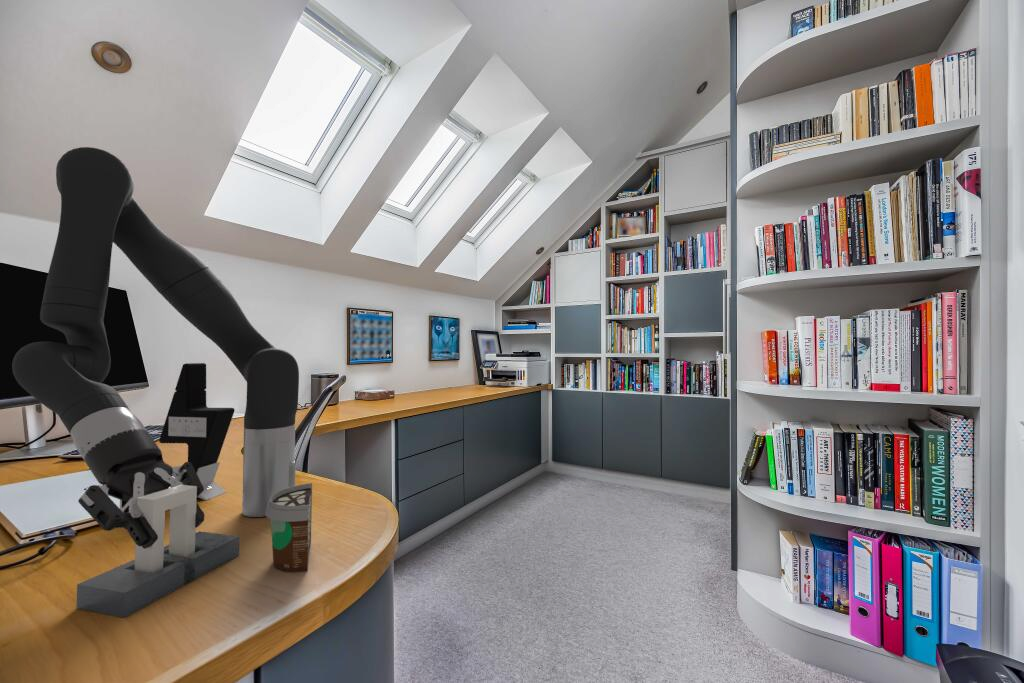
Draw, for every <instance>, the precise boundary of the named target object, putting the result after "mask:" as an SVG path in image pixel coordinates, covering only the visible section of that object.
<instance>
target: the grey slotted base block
mask: <svg viewBox="0 0 1024 683" xmlns="http://www.w3.org/2000/svg"><path fill="white" fill-rule="evenodd" d="M238 556H240V536H239V535H232V534H231V535H230V534H225V533H223V534H222V533H216V532H207V531H198V532H197V531H196V532H195V553H194V554H192V555H190V556H188V557H183V556H176V555H169V544H167V545H164V556H163V569H161V570H159V571H157V572H155V573H148V572H142V571H135V570H134V569H135V559H132V560H130V561H128V562H126V563H124V564H123V563H122V564H120V565H119V566H116V567H114V568H112V569H110V570H107V571H105V572H103V573H100V574H97V575H96V576H93V577H90V578H88V579H86V580H84V581H81V582H80V583H77V584H76V609H77V610H82V611H88V612H93V613H98V614H103V615H108V616H112V617H118V618H127V617H128V616H131V615H132V614H134V613H136V612H138V611H140V610H141V609H143V608H145V607H146V606H147V607H148V605H150V604H152V603H154V602H155V601H158V600H160V599H161V598H163V597H165V596H166V595H169V594H171V593H172V592H175V591H176V590H178V589H181V588H182V587H183V586H185V585H187V584H189V583H190V582H191V583H192V582H193V581H195V580H196V579H199V578H200V577H201V576H204V575H205V574H207V573H209V572H211V571H213V570H215V569H217V568H219V567H221V566H222V565H224V564H226V563H227V562H230V561H231V560H233V559H235V558H236V557H238Z"/></svg>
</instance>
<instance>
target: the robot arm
mask: <svg viewBox="0 0 1024 683" xmlns="http://www.w3.org/2000/svg"><path fill="white" fill-rule="evenodd" d="M55 179H56V186H57V189H58V192H59V194H60V199H61V201H60V202H61V204H60V216H59V217H60V218H59V225H58V233H57V237H56V241H55V245H54V250H53V252H52V258H51V261H50V266H49V269H48V272H47V273H48V274H47V276H46V281H45V286H44V291H43V296H42V297H43V298H42V302H41V306H40V312H39V313H40V314H39V319H40V321H41V323H42V324H44V325H46V326H47V327H50V328H52V329H54V330H58V331H59V332H61V333H63V335H64V336H65V339H66V342H67V343H61V342H55V341H37V342H30V343H28V344H26V345H24V346H22V347H21V348H20V349H19V350H18V351H17V352H16V353H15V355H14V357H13V359H12V363H11V364H12V365H11V367H12V368H11V370H12V374H13V376H14V378H15V380H16V382H17V383H18V385H20V387H21V388H22V389H24V390H25V391H26V393H28V394H30V396H32V398H34V399H36V400H37V401H38V402H39V403H41V405H43V406H45V407H46V408H47V409H49V410H50V411H52V412H53V413H55V414H56V415H57V416H58V417H59V419H60V421H61V422H62V424H63V425H64V427H65V429H67V431H68V433H69V435H70V436H71V438H72V441H73V444H74V446H75V448H76V450H77V451H78V453H79V455H80V456H81V457H82V459H83V461H84V463H85V464H86V466H87V467H88V468H89V470H90V471H91V474H92V475H93V476H94V478H95V479H96V481H97V482H98V483H99V484H100V485H96V484H92V485H90V486H89V487H88V488H87V489H86V490H85V492H84V493H83V494H82V495H81V496H80V497H79V499H77V500H78V501H77V502H78V503H79V504H80V506H81V507H82V508H83V510H85V511H86V512H87V513H88V514H89V515H90V517H91V518H93V520H94V521H95V522H96V523H97V524H98V525H99V526H100V527H101V528H102V529H103V530H104V531H107V532H110V531H112V530H114V529H115V528H116V529H117V528H118V529H120V528H121V529H123V530H126V531H127V532H128V535H129V536H130V537H131V538H132V541H133V542H134V543H136V545H138V546H142V547H143V548H144V549H146V548H148V547H150V546H152V545H153V544H154V543H155V542H156V540H157V539H158V535H157V534H156V532H155V531H154V529H152V527H151V526H150V524H149V523H148V521H147V520H146V518H145V517H140V516H141V515H142V511H141V510H140V508H139V506H138V505H137V498H139V497H142V496H146V495H149V494H152V493H155V492H159V491H162V490H165V489H169V488H172V487H175V486H179V485H189V486H197V498H199V497H198V496H199V495H200V494H201V493H202V492H203V491H204V487H203V485H202V483H201V481H200V479H199V477H198V475H197V473H196V471H195V469H194V467H193V465H192V464H191V463H190V462H188V461H185V462H184V463H183V464H182V465H180V466H173V467H172V466H171V465H169V464H168V463H166V462H165V461H164V459H163V453H162V450H161V448H160V447H159V446H158V444H157V443H156V441H155V440H154V438H153V437H152V435H151V434H150V433H149V431H148V430H147V428H146V427H145V426H144V424H143V423H142V421H141V420H140V419H139V418H138V417H137V416H136V415H135V414H134V413H133V411H131V409H130V408H129V406H128V405H127V403H126V402H125V401H124V399H123V398H122V397H121V395H120V393H119V392H118V391H117V390H116V389H115V388H113V387H112V386H110V385H108V384H105V383H104V381H105V379H106V378H107V376H108V374H109V372H110V370H111V362H112V359H111V351H110V347H109V344H108V342H109V341H108V338H107V337H108V336H107V332H106V327H105V324H104V319H105V311H106V307H107V306H106V305H107V300H108V292H109V285H110V276H111V262H112V261H111V260H112V252H113V251H112V250H113V243H114V244H115V246H116V247H118V248H119V249H120V251H122V253H123V254H124V255H125V256H126V258H128V260H129V261H130V262H131V263H132V264H133V266H134V267H135V268H136V269H137V270H138V271H139V272H140V273H141V275H143V277H144V278H145V279H146V280H147V281H148V282H149V283H150V284H151V285H152V287H153V288H154V289H155V290H156V291H157V292H158V293H159V294H160V295H161V296H162V297H163V298H164V299H165V300H166V301H167V302H168V303H169V304H170V305H171V306H172V307H173V308H174V309H175V310H176V311H177V312H178V313H179V314H180V315H181V316H183V318H184V319H185V320H187V321H188V322H189V323H190V324H191V325H192V326H194V327H195V328H196V329H197V330H199V332H201V334H203V335H204V336H205V337H206V338H208V339H209V340H211V341H212V342H213V343H214V344H215V345H216V346H217V347H218V348H219V349H221V351H222V352H223V353H224V354H225V355H226V357H227V358H228V359H229V360H230V361H231V362H232V364H233V365H234V367H235V368H236V369H237V370H238V372H239V373H240V374H241V376H242V377H243V379H244V380H245V381H246V402H245V404H246V406H245V411H244V416H243V452H242V453H243V457H242V459H243V464H242V501H241V502H242V503H241V507H242V509H241V510H242V512H241V513H242V515H243V516H245V517H249V518H260V517H261V518H262V517H267V516H266V515H265V513H266V509H267V505H268V502H269V500H270V498H271V496H272V495H273V494H275V493H276V492H278V491H281V490H283V489H286V488H289V487H293V486H296V461H295V458H296V457H295V455H296V453H295V452H296V450H295V449H296V415H297V412H298V408H299V388H300V382H299V380H300V370H299V365H298V362H297V360H296V358H295V357H294V355H292V354H291V353H290V352H288V351H286V350H285V349H281V348H277V347H275V346H274V345H273V344H272V343H270V342H269V341H268V340H267V339H266V338H265V337H264V336H263V335H262V334H261V333H260V332H259V331H258V330H257V329H256V328H255V327H254V326H253V325H252V324H251V322H250V321H249V320H248V318H247V317H246V315H245V313H244V311H243V310H242V308H241V306H240V305H239V303H238V302H237V300H236V299H235V298H234V296H233V295H232V293H231V291H230V290H229V289H228V287H227V286H226V285H225V283H224V282H223V281H222V280H221V279H220V278H219V277H218V275H217V274H216V273H214V271H213V270H212V268H210V267H209V266H208V265H207V264H206V263H205V262H204V261H203V260H202V259H201V258H200V257H199V256H197V255H196V254H195V253H193V252H192V251H191V250H189V249H188V248H187V247H185V246H184V245H182V244H181V243H179V242H177V240H175V239H173V238H172V237H170V236H169V235H168V234H166V232H164V231H162V229H160V228H159V227H158V225H156V224H155V223H154V221H153V220H152V219H151V217H150V216H148V214H147V213H146V212H145V210H143V208H142V207H141V205H140V204H139V203H138V201H137V200H136V199H135V197H134V196H133V194H134V190H135V183H134V179H133V175H132V173H131V171H130V168H128V167H127V165H126V164H125V163H124V162H123V161H122V160H121V159H120V158H119V157H117V156H116V155H114V154H112V153H110V152H109V151H106V150H104V149H100V148H96V147H92V146H91V147H89V146H83V147H82V146H81V147H75V148H73V149H70V150H67V151H66V152H65V153H64V154H62V156H61V157H60V158H59V160H58V162H57V163H56V169H55ZM110 497H112V498H114V499H118V500H119V506H118V505H117V504H116V503H115V502H114V500H112V499H111V498H110ZM204 521H205V512H204V511H203V510H202V508H201V506H200V505H199V504H198V503H197V501H196V518H195V527H196V529H197V528H198V527H200V526H201V525H202V523H204Z"/></svg>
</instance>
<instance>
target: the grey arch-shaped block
mask: <svg viewBox="0 0 1024 683" xmlns="http://www.w3.org/2000/svg"><path fill="white" fill-rule="evenodd" d="M197 498H198V497H197V486H189V485H179V486H175V487H172V488H171V487H169V488H168V489H165V490H162V491H159V492H155V493H152V494H149V495H146V496H142V497H139V498H137V505H138V506H139V508H140V510H141V511H142V515H141V516H140V517H145V518H146V520H147V521H148V523H149V524H150V526H151V527H152V529H154V531H155V532H156V534H157V535H158V539H157V540H156V542H155V543H154V544H153V545H152V546H150V547H148V548H146V549H144V548H143V547H142V546H138V545H136V543H135V542H134V543H135V547H134V548H135V551H134V560H135V569H134V570H135V571H142V572H148V573H155V572H157V571H159V570H161V569H163V556H164V547H165V524H166V523H165V522H166V511H169V530H168V531H169V537H168V545H169V555H176V556H183V557H188V556H190V555H192V554H194V553H195V533H197V530H196V529H197V528H196V527H195V518H196V502H197Z"/></svg>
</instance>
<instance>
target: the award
mask: <svg viewBox="0 0 1024 683" xmlns="http://www.w3.org/2000/svg"><path fill="white" fill-rule="evenodd" d="M206 389H207V364H206V363H205V362H194V363H192V362H190V363H184V364H182V367H181V370H180V372H179V377H178V379H177V382H176V386H175V388H174V392H173V395H172V398H171V402H170V405H169V408H168V411H167V415H166V418H165V420H164V424H163V428H162V430H161V433H160V436H159V439H158V442H159V443H160V444H185V445H187V462H190V463H191V464H192V465H193V467H194V469H195V471H196V473H197V475H198V477H199V479H200V481H201V483H202V485H203V487H204V491H203V492H202V493H201V494H200V495H199V496H198V497H197V498H198V499H201V500H203V501H207V500H208V501H209V500H211V499H213V498H216V497H219V496H221V495H224V494H226V493H227V491H226V490H224V488H222V487H221V486H220V485H219V484H218V483H216V482H215V477H216V474H217V472H218V469H219V466H220V462H221V461H218V460H219V457H220V454H221V451H222V449H223V446H224V443H225V440H226V436H227V434H228V432H229V429H230V425H231V423H232V420H233V416H234V414H235V411H236V410H235V408H234V407H208V406H207V390H206ZM208 486H211V487H212V489H211V490H207V488H209V487H208Z"/></svg>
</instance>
